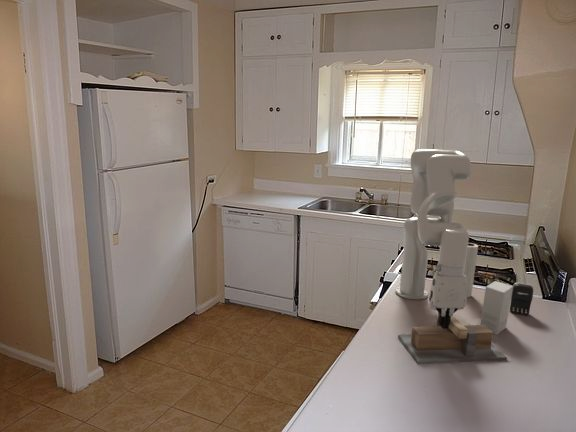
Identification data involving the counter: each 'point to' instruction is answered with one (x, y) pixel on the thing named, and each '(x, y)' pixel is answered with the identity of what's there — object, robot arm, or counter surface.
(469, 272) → the paper towel roll
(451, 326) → the bar
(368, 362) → the counter surface
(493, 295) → the skincare box
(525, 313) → the battery charger
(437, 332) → the wooden gate latch
